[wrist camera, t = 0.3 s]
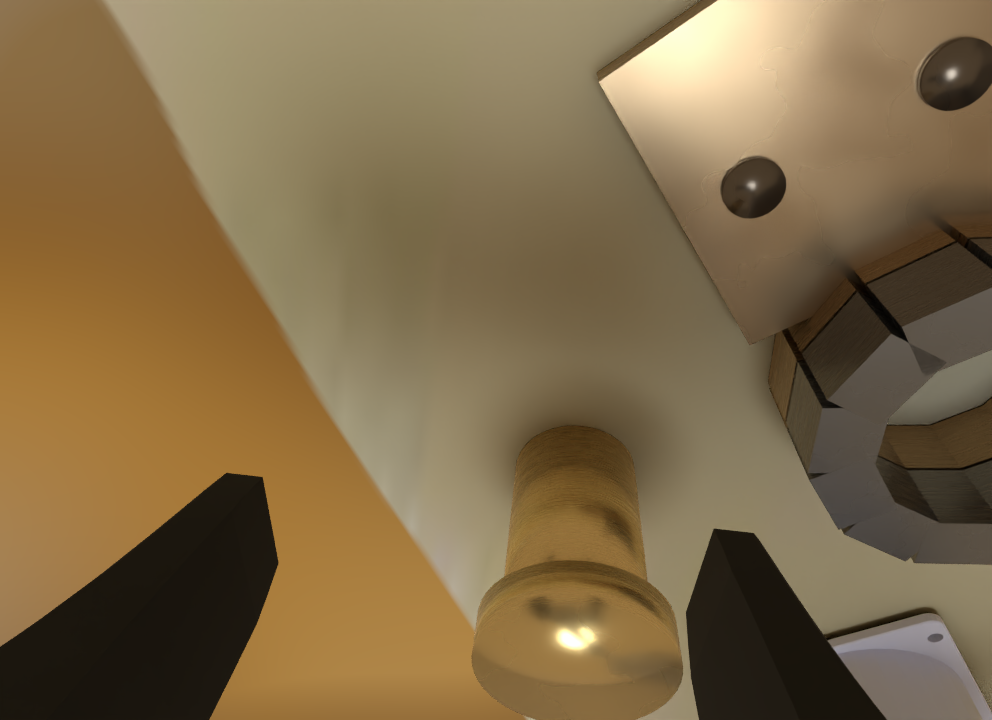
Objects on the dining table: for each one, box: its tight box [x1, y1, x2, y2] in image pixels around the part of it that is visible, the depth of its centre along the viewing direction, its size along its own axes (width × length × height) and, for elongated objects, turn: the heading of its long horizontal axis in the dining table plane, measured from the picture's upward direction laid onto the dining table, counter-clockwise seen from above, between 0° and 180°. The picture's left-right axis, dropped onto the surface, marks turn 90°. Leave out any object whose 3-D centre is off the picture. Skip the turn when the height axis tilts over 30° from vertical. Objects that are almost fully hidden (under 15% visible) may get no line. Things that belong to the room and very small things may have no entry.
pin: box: [472, 426, 683, 720], centre depth 19 cm, size 5×5×7 cm
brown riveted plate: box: [597, 0, 992, 470], centre depth 16 cm, size 16×8×2 cm, turn 35°
